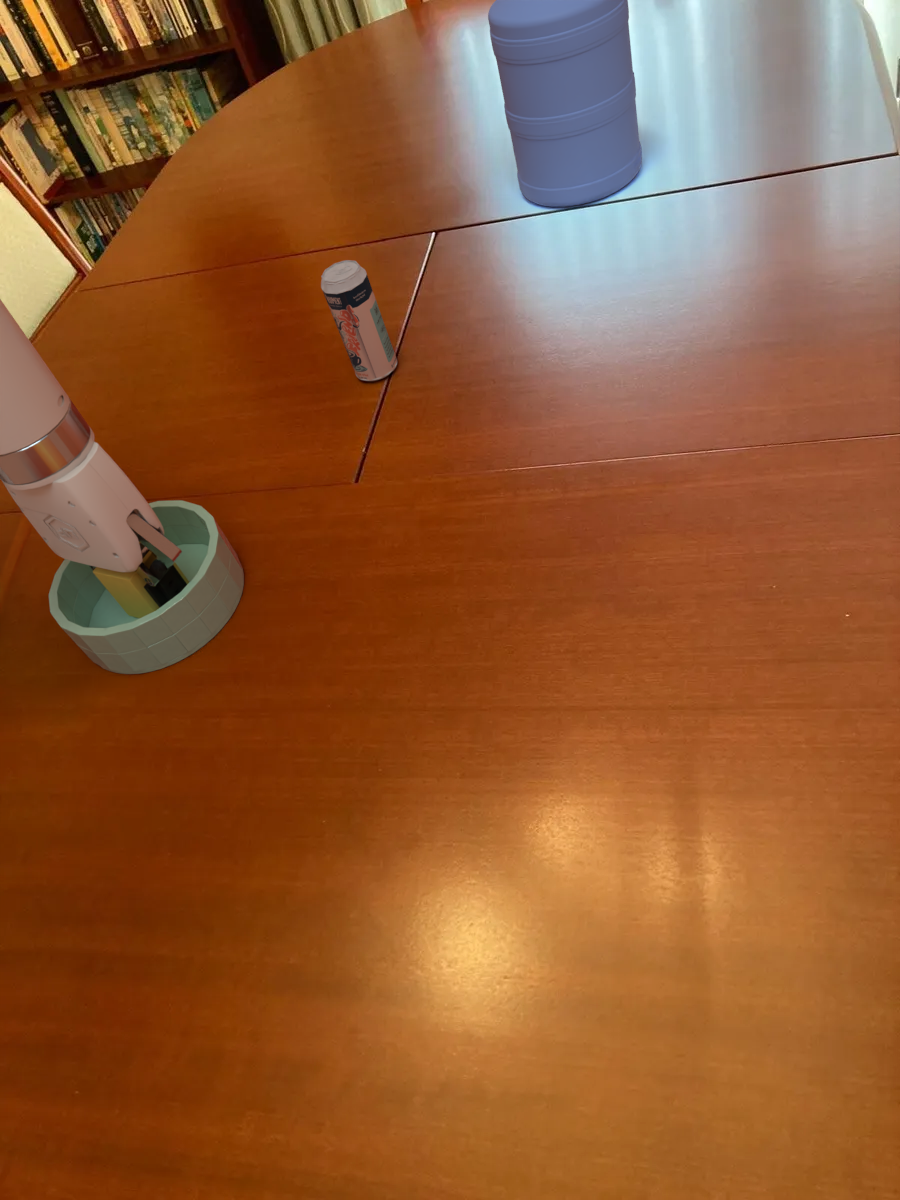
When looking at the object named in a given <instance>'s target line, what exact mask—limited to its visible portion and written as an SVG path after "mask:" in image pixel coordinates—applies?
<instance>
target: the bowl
mask: <svg viewBox="0 0 900 1200" xmlns="http://www.w3.org/2000/svg"><path fill="white" fill-rule="evenodd" d="M147 503H148V502H147ZM148 504H149V505H150V507H151V508H152V510H153V511H154V513H155V514H156V516H157V517H158V519H159V521H160V522H161V524H162V526H163V529H164V536H165V537H166V538H167V539H168V540H170V541H171V542H172V543H173V544H175V545H176V546H177V547H179V548H180V549H181V551H182V554H181V555H180V556H179V557H178V559H177V560H176V561H175V563H176V564H177V566H178V567H179V568H180V570H181V571H182V573H183V574H184V575H185V577H186V578H187V580H188V581H189V583H188V584H187V585H186V587H185V588H184V589H183V590H182V591H181V592H180V593H179V594H178V595H176V596H175V597H174V598H172V599H171V600H170V601H168V602H167V603H166V604H164V605H163V606H161V607H160V608H159V609H157V610H156V611H154V612H152V613H150V614H148V615H146V616H144V617H141V618H136V617H133V616H129V615H128V614H127V613H126V612H125V611H124V609H123V608H122V607H121V606H120V605H119V603H118V602H117V601H116V600H115V598H114V597H113V596H112V595H111V594H110V592H109V591H108V590H107V589H106V588H105V586H104V585H103V584H102V583H101V581H100V580H99V579H98V578H97V577H96V575H95V574H94V573H93V570H92V569H91V568H90V567H89V565H86V564H82V563H78V562H74V561H70V560H67V559H64V558H63V559H64V560H63V561H61V564H60V565H59V567H58V568H57V570H56V572H55V573H54V576H53V579H52V582H51V585H50V589H49V591H48V592H49V593H48V605H49V613H50V615H51V616H52V617H53V619H54V620H55V622H56V623H57V624H58V626H59V627H60V628H61V629H62V630H63V631H64V633H65V634H66V635H67V636H68V637H69V638H70V639H71V640H72V641H73V642H74V644H76V646H77V647H78V648H79V649H80V650H82V652H83V653H84V654H85V656H87V657H88V659H89V660H90V661H92V662H93V664H96V666H98V667H99V668H102V669H104V670H106V671H109V672H110V673H116V674H121V675H139V674H146V673H151V672H156V671H159V670H161V669H165V668H167V667H170V666H172V665H174V664H177V663H178V662H181V661H183V660H184V659H186V658H188V657H190V656H191V655H193V654H195V653H196V652H197V651H199V650H200V649H202V648H203V647H204V646H205V645H207V644H208V643H209V642H210V641H212V640H213V638H215V637H216V636H217V635H218V634H219V632H220V631H222V629H224V627H225V626H226V625H227V623H228V622H229V621H230V619H231V617H232V616H233V614H234V612H235V611H236V610H237V607H238V606H239V603H240V601H241V598H242V595H243V591H244V587H245V574H244V568H243V566H242V562H241V560H240V558H239V556H238V554H237V552H236V550H235V549H234V548H233V546H232V544H231V543H230V541H229V540H228V537H227V536H226V534H225V533H224V532H223V530H222V528H221V527H220V525H219V524H218V522H217V520H216V518H215V517H214V516H213V515H212V514H211V513H210V512H209V511H208V510H206V509H205V508H204V507H203V506H202V505H200V504H196V503H192V502H189V501H186V500H183V499H175V500H174V499H173V500H172V499H171V500H156V501H153V502H149V503H148Z"/></svg>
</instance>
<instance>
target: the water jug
mask: <svg viewBox="0 0 900 1200" xmlns="http://www.w3.org/2000/svg"><path fill="white" fill-rule="evenodd" d="M629 9H630V7H629V0H495V1H494V2H493V3H492V4H491V5H490V7H489V10H488V14H487V19H488V25H489V36H490V37H489V38H490V42H491V48H492V51H493V55H494V57H495V61H496V66H497V70H498V76H499V82H500V86H501V87H500V88H501V91H502V97H503V101H504V105H503V106H504V114H505V119H506V124H507V127H508V130H509V134H510V139H511V143H512V149H513V154H514V160H515V164H516V169H517V171H516V177H517V178H516V179H517V181H518V186H519V190H520V192H521V194H522V195H523V196H524V197H525V198H526V199H527V200H528V201H530V202H531V203H534V204H536V205H540V206H544V207H552V208H564V207H573V206H579V205H584V204H589V203H593V202H595V201H598V200H601V199H604V198H606V197H609V196H610V195H613V194H614V193H616V192H618V191H620V190H621V189H623V188H624V187H625V186H627V185H628V184H629V183H631V181H632V180H633V179H634V178H635V177H636V176H637V174H638V173H639V171H640V169H641V167H642V163H643V150H642V144H641V142H640V134H639V125H638V124H639V123H638V112H637V103H636V102H637V101H636V97H637V86H636V78H635V77H636V76H635V72H634V70H633V57H632V45H631V36H630V34H631V33H630V26H629V20H630V10H629Z"/></svg>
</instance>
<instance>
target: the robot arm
mask: <svg viewBox="0 0 900 1200" xmlns="http://www.w3.org/2000/svg"><path fill="white" fill-rule="evenodd" d="M95 438H96V437H95V433H94V431H93V429H92V428H91V426H90V425H89V424H88V422H87V421H86V419H85V418H84V416H83V415H82V414H81V412H80V410H78V408H77V406H76V405H75V404H74V402H73V401H72V400H71V397H69V394H67V392H66V391H65V390H64V388H63V387H62V385H61V384H60V382H59V381H58V380H57V378H56V377H55V374H53V372H52V371H51V369H50V368H49V366H48V365H47V364H46V362H45V361H44V359H43V357H42V356H41V354H40V353H39V352H38V351H37V349H36V347H35V346H34V345H33V344H32V342H31V341H30V340H29V338H28V336H27V335H26V333H25V331H23V329H22V328H21V326H20V325H19V323H18V322H17V321H16V319H15V318H14V317H13V315H12V313H11V312H10V311H9V309H8V308H7V306H6V305H5V303H4V302H3V301H2V299H1V298H0V480H1V482H2V484H3V486H5V488H6V491H7V492H8V493H9V495H10V496H11V498H12V499H13V501H14V503H15V504H16V506H18V508H19V510H20V511H21V513H23V515H24V516H25V517H26V519H27V520H28V521H29V523H30V524H31V526H32V527H33V528H34V529H35V531H36V532H37V533H38V535H39V536H40V537H41V538H42V540H43V541H44V542H45V544H46V545H47V546H48V547H49V548H50V550H51V551H52V553H54V554H55V555H56V556H58V557H60V558H62V559H67V560H70V561H74V562H78V563H82V564H86V565H89V567H90V568H91V569H92V570H93V571H94V569H95V568H96V567H99V568H103V569H108V570H112V571H118V572H133V571H135V572H136V573H137V574H138V575H139V576H140V577H141V578H142V579H143V580H144V581H145V582H146V585H145V586H144V588H145V589H146V591H147V592H148V593H149V595H150V596H151V597H152V599H153V600H154V601H155V602H156V604H157V605H158V606H159V608H160V607H161V606H163V605H164V604H166V603H167V602H168V601H170V600H171V599H172V598H174V597H175V596H176V595H178V594H179V593H180V592H181V591H182V590H183V589H184V588H185V587H186V585H187V583H186V582H185V581H184V579H183V578H182V576H181V575H180V574H179V572H178V571H177V569H176V568H175V567H174V565H173V564H174V562H175V561H176V560H177V559H178V557H179V556H180V555H181V554H182V551H181V549H180V548H179V547H177V546H176V545H175V544H173V543H172V542H171V541H170V540H168V539H167V538H166V537H165V536H164V529H163V526H162V524H161V522H160V521H159V519H158V517H157V516H156V514H155V513H154V511H153V510H152V508H151V507H150V505H149V504H148V501H147V499H146V498H145V496H143V494H142V493H141V492H140V491H139V490H138V488H137V486H136V485H135V484H134V483H133V482H132V481H131V479H130V478H129V477H128V476H127V474H126V473H125V471H124V470H123V469H122V468H121V467H120V466H119V465H118V464H117V463H116V461H114V459H113V458H112V457H111V456H110V455H109V454H108V453H107V451H106V450H104V448H103V447H102V446H101V445H100V444H99V443H98V442H96V441H95ZM139 542H140V543H139ZM149 551H150V552H151V553H152V554H153V555H154V556H155V557H156V559H155V560H154V561H153V562H152V563H151V565H150V568H149V569H148V568H147V566H146V565H145V564H144V563H143V562H142V561H143V558H144V557H145V556H146V554H147V553H148V552H149Z"/></svg>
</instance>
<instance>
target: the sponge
mask: <svg viewBox="0 0 900 1200" xmlns="http://www.w3.org/2000/svg"><path fill="white" fill-rule="evenodd" d="M139 543H140V542H139ZM155 559H156V557H155V556H154V555H153V554H152V553H151V552H150V551H149V552H148V553H147V554H146V556H145V557H144V558H143V561H142V562H143V563H144V564H145V565H146V566H147V568H148V569H149V568H150V565H151V563H152V562H153V561H154V560H155ZM173 565H174V567H175V568H176V569H177V571H178V572H179V574H180V575H181V576H182V578H183V579H184V581H185V582H186V583H187V584H188V583H189V581H188V580H187V578H186V577H185V575H184V574H183V573H182V571H181V570H180V568H179V567H178V566H177V564H176V563H175V562H174V564H173ZM93 573H94V574H95V575H96V577H97V578H98V579H99V580H100V581H101V583H102V584H103V585H104V586H105V588H106V589H107V590H108V591H109V592H110V594H111V595H112V596H113V597H114V598H115V600H116V601H117V602H118V603H119V605H120V606H121V607H122V608H123V609H124V611H125V612H126V613H127V614H128V615H129V616H133V617H136V618H141V617H144V616H146V615H148V614H150V613H152V612H154V611H156V610H157V609H159V606H158V605H157V604H156V602H155V601H154V600H153V599H152V597H151V596H150V595H149V593H148V592H147V591H146V589H145V588H144V586H145V585H146V582H145V581H144V580H143V579H142V578H141V577H140V576H139V575H138V574H137V573H136V572H135V571H133V572H118V571H112V570H108V569H103V568H99V567H96V568H95V569H94V571H93Z"/></svg>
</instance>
